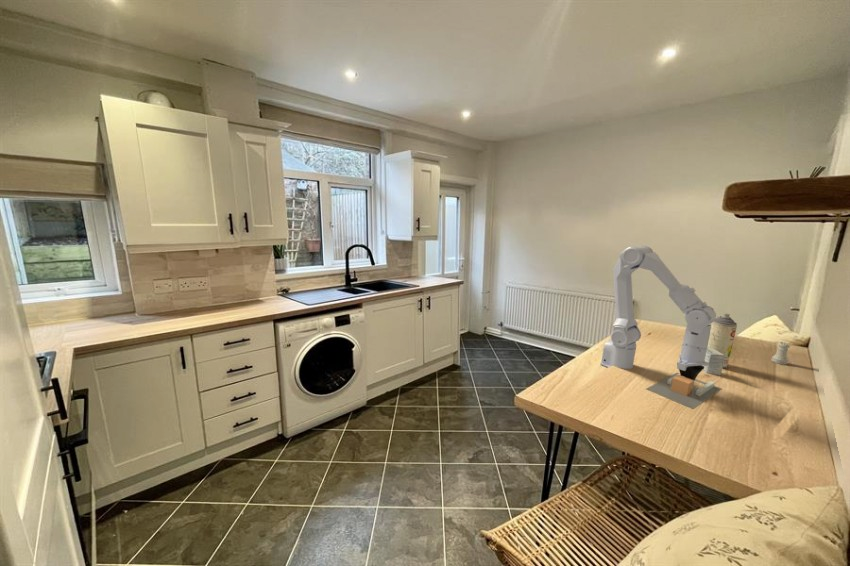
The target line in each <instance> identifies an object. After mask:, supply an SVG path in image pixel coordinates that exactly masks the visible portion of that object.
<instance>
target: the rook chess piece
mask: <svg viewBox="0 0 850 566" xmlns="http://www.w3.org/2000/svg"><path fill="white" fill-rule="evenodd" d="M777 346H778V347H777V351H776V353H775V354H774V355H772V357H771V359H770V360H771V362H772V363H775V364H779V365H783V366H786V365H788V364H789V359H788V356H787V355H788V352H789V348H791V346H790V343H789V342H787V343H786V342H783V341H779V342H778V343H777Z"/></svg>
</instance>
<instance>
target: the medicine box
mask: <svg viewBox="0 0 850 566" xmlns="http://www.w3.org/2000/svg"><path fill="white" fill-rule="evenodd" d="M724 358H725V355H723V354H722V353H720V352H718V351H717V350H715V349H713V348H711V347H708V346H707V351H706V355H705V362H708V363H709V365H708V366H704V365H702V366H704V369H703V370H702V371H703V372H704V373H705V374H708V375H709V374H710V375H715V376H718V377H721V376H722V371H723V368H722V367H723V363H724Z"/></svg>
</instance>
